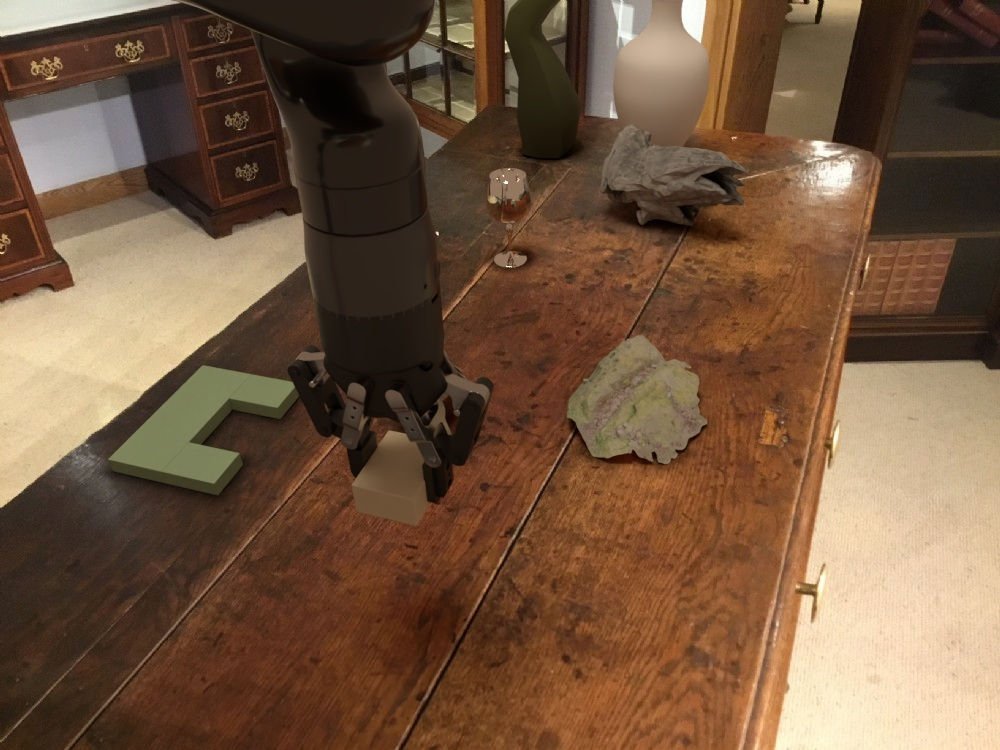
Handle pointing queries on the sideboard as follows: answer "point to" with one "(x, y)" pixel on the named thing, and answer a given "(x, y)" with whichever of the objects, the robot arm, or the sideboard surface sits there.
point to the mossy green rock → (637, 404)
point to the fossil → (668, 178)
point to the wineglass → (508, 208)
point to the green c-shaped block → (199, 429)
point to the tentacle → (541, 84)
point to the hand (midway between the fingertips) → (403, 486)
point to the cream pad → (392, 481)
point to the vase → (662, 78)
